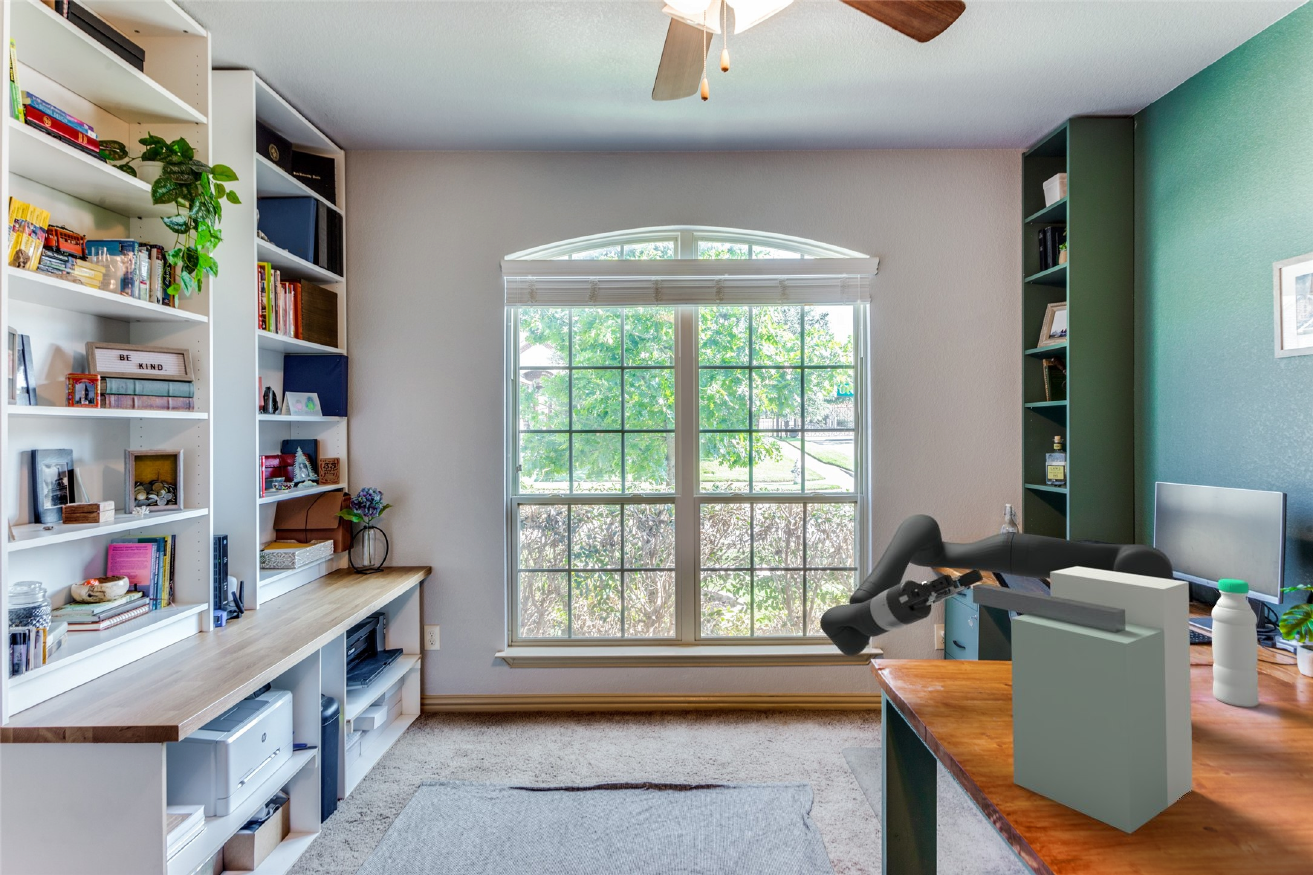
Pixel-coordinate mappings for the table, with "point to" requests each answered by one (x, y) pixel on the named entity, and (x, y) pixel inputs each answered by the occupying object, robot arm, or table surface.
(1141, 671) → the stepped stand
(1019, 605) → the steel bar
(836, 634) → the robot arm
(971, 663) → the table surface
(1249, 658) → the water bottle
